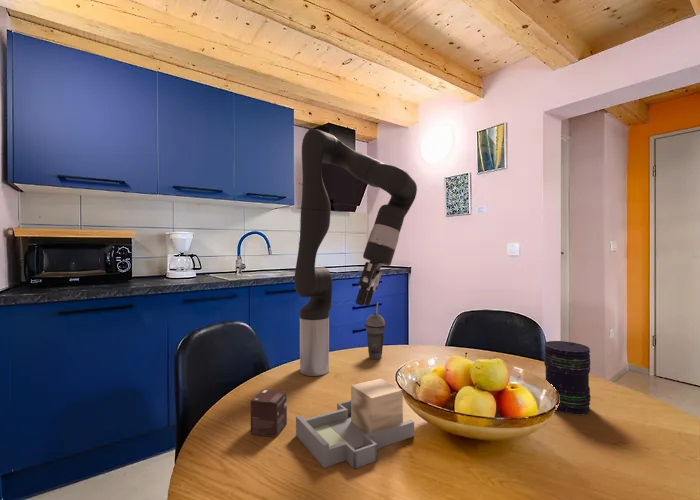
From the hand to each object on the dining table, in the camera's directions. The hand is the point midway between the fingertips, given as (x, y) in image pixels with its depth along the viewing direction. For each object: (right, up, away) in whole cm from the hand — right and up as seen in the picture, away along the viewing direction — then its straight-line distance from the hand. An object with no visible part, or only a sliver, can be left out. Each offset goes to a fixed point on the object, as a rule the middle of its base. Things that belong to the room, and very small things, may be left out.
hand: (362, 304), depth 92 cm
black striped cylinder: (+51, -25, -3) cm, 56 cm away
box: (-21, -25, -14) cm, 35 cm away
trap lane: (-2, -25, -17) cm, 30 cm away
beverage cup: (+6, -25, +37) cm, 45 cm away
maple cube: (+3, -24, -14) cm, 28 cm away
